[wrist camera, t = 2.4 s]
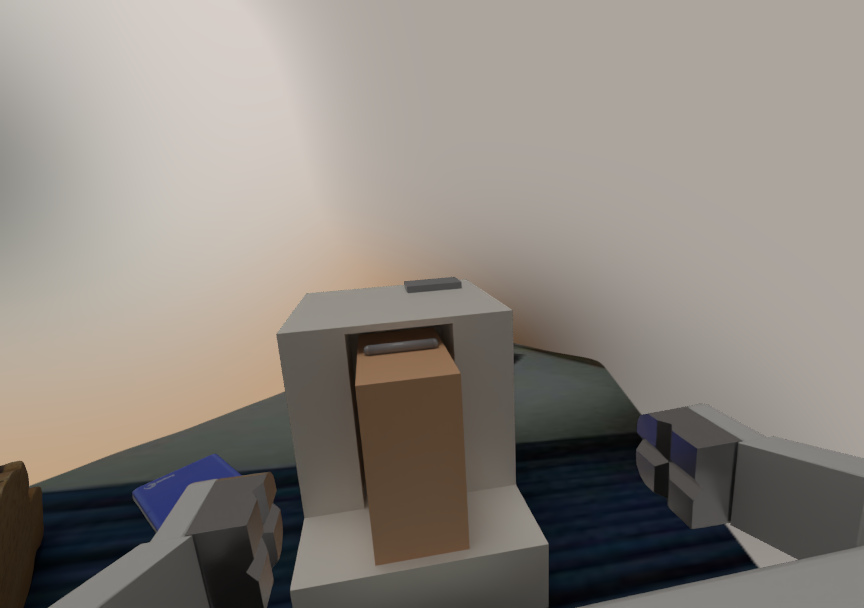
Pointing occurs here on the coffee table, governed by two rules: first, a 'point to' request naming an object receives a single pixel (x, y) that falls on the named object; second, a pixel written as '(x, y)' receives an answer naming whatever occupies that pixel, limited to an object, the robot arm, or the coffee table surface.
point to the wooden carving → (18, 533)
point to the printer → (344, 467)
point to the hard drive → (177, 487)
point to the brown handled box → (412, 444)
